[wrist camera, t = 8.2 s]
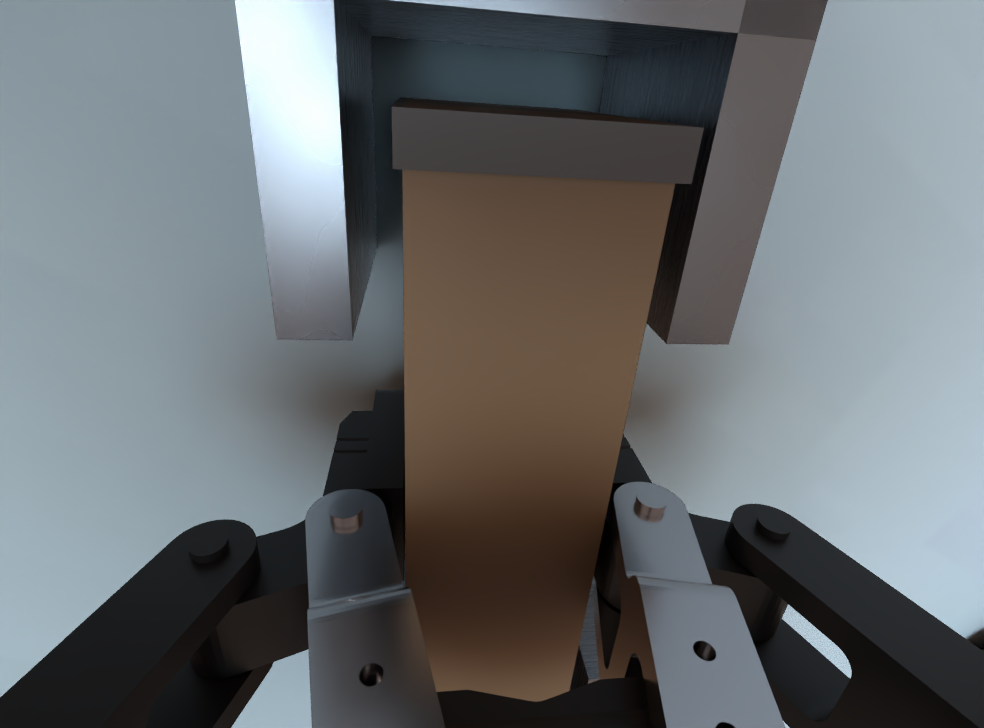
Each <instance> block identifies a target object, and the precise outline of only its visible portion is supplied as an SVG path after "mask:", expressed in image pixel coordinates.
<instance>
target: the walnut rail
mask: <svg viewBox="0 0 984 728" xmlns="http://www.w3.org/2000/svg"><path fill="white" fill-rule="evenodd" d="M703 130H704V128H702V127H695V126H688V125H681V124H674V123H667V122H660V121H652V120H645V119H638V118H631V117H624V116H617V115H610V114H603V113H596V112H588V111H581V110H571V109H557V108H543V107H529V106H514V105H500V104H486V103H471V102H457V101H443V100H429V99H414V98H400V99H399V100H398V101H397V102H396V103H395V104H394V105H393V106H392V163H393V169H402V178H403V292H404V407H405V521H406V587H407V586H408V587H409V588H410V590H411V592H412V595H413V599H414V603H415V607H416V611H417V615H418V619H419V623H420V627H421V631H422V635H423V639H424V643H425V647H426V651H427V655H428V659H429V663H430V667H431V671H432V675H433V679H434V684H435V688H436V692H442V691H455V690H473V691H478V692H484V693H489V694H495V695H500V696H506V697H511V698H516V699H522V700H527V701H534V702H538V701H544V700H547V699H549V698H552V697H555V696H557V695H560V694H563V693H565V692H568V691H569V690H570V685H571V681H572V676H573V671H574V666H575V662H576V657H577V652H578V647H579V642H580V638H581V633H582V628H583V623H584V618H585V614H586V609H587V604H588V599H589V595H590V590H591V585H592V580H593V575H594V571H595V566H596V561H597V556H598V551H599V547H600V542H601V537H602V532H603V528H604V523H605V518H606V513H607V508H608V504H609V499H610V494H611V489H612V484H613V480H614V475H615V470H616V465H617V461H618V456H619V451H620V446H621V441H622V437H623V432H624V427H625V422H626V417H627V413H628V408H629V403H630V398H631V394H632V389H633V384H634V379H635V374H636V370H637V365H638V360H639V355H640V350H641V346H642V341H643V336H644V331H645V327H646V322H647V317H648V312H649V307H650V303H651V298H652V293H653V288H654V283H655V279H656V274H657V269H658V264H659V260H660V255H661V250H662V245H663V240H664V236H665V231H666V226H667V221H668V216H669V212H670V207H671V202H672V197H673V193H674V188H675V183H678V184H692V180H693V175H694V171H695V166H696V162H697V157H698V153H699V148H700V144H701V139H702V135H703Z"/></svg>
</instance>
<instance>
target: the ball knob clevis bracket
mask: <svg viewBox="0 0 984 728" xmlns="http://www.w3.org/2000/svg"><path fill="white" fill-rule="evenodd" d="M827 1H828V0H235V4H236V13H237V21H238V29H239V37H240V45H241V53H242V61H243V69H244V77H245V85H246V93H247V101H248V110H249V118H250V126H251V134H252V142H253V150H254V158H255V166H256V174H257V182H258V190H259V198H260V207H261V215H262V223H263V231H264V239H265V247H266V255H267V263H268V271H269V279H270V287H271V295H272V304H273V312H274V320H275V328H276V336H277V340H353V336H354V332H355V328H356V325H357V321H358V317H359V314H360V310H361V306H362V302H363V299H364V295H365V291H366V288H367V284H368V280H369V276H370V273H371V269H372V265H373V261H374V258H375V254H376V250H377V214H376V181H375V147H374V114H373V81H372V47H371V36H381V37H393V38H405V39H416V40H428V41H440V42H452V43H463V44H475V45H487V46H498V47H510V48H522V49H534V50H545V51H557V52H569V53H581V54H592V55H604V56H607V61H606V68H605V75H604V83H603V90H602V97H601V104H600V111H599V113H603V114H610V115H617V116H624V117H631V118H638V119H645V120H652V121H660V122H667V123H674V124H681V125H688V126H695V127H702V128H704V130H703V135H702V139H701V144H700V148H699V153H698V157H697V162H696V166H695V171H694V175H693V180H692V184H678V183H675V188H674V193H673V197H672V202H671V207H670V212H669V216H668V221H667V226H666V231H665V236H664V240H663V245H662V250H661V255H660V260H659V264H658V269H657V274H656V279H655V283H654V288H653V293H652V298H651V303H650V307H649V312H648V317H647V322H646V323H647V324H648V325H649V326H650V327H651V328H652V329H653V330H654V331H655V332H656V333H657V334H658V335H659V337H660V338H661V339H662V340H663V341H664V342H665V343H666V344H729V341H730V338H731V334H732V331H733V327H734V324H735V320H736V317H737V313H738V310H739V306H740V303H741V299H742V296H743V293H744V289H745V286H746V282H747V279H748V275H749V272H750V268H751V265H752V261H753V258H754V254H755V251H756V247H757V244H758V240H759V237H760V233H761V230H762V227H763V223H764V220H765V216H766V213H767V209H768V206H769V202H770V199H771V195H772V192H773V188H774V185H775V181H776V178H777V174H778V171H779V167H780V164H781V161H782V157H783V154H784V150H785V147H786V143H787V140H788V136H789V133H790V129H791V126H792V122H793V119H794V115H795V112H796V108H797V105H798V101H799V98H800V94H801V91H802V88H803V84H804V81H805V77H806V74H807V70H808V67H809V63H810V60H811V56H812V53H813V49H814V46H815V42H816V39H817V35H818V32H819V28H820V25H821V22H822V18H823V15H824V11H825V8H826V4H827ZM595 582H596V581H595V578H594V575H593V580H592V585H591V590H590V595H589V599H588V604H587V609H586V614H585V618H584V623H583V628H582V633H581V638H580V642H579V647H578V652H577V657H576V662H575V666H574V671H573V676H572V681H571V685H570V690H569V691H571V690H573V689H576V688H578V687H581V686H584V685H586V684H589V683H592V682H594V681H597V680H600V679H599V668H598V657H597V646H596V634H595V623H594V612H593V601H592V597H593V592H594V587H595Z"/></svg>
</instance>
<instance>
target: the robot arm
mask: <svg viewBox="0 0 984 728" xmlns="http://www.w3.org/2000/svg"><path fill="white" fill-rule="evenodd" d="M405 530H406V521H405V407H404V390H376V393H375V400H374V407H373V411H352V412H351V413H350V414H349V415H348V416H347V417H346V418H345V419H344V420H343V421H342V422H341V423H340V426H339V431H338V435H337V441H336V443H335V448H334V453H333V456H332V460H331V464H330V469H329V473H328V477H327V481H326V486H325V490H324V494H323V497H322V498H320V499H318V500H317V501H316V502H315V503H314V504H313V505H312V506H311V507H310V508H309V510H308V512H307V514H306V518H305V520H304V521H302V522H300V523H298V524H297V525H294V526H292V527H290V528H287V529H284V530H280V531H277V532H273V533H269V534H265V535H262V536H258V537H256V535H255V533H254V531H253V529H252V528H251V527H250V526H248V525H247V524H245V523H242V522H240V521H235V520H215V521H209V522H206V523H202V524H199V525H197V526H194V527H192V528H190V529H188V530H186V531H185V532H183V533H182V534H180V535H179V536H178V537H176V538H175V539H174V540H173V541H172V542H170V543H169V544H168V545H167V546H166V547H165V548H164V549H163V550H162V551H161V552H159V553H158V554H157V555H156V556H155V557H154V558H153V559H152V560H151V561H150V562H149V563H147V564H146V565H145V566H144V567H143V568H142V569H141V570H140V571H139V572H138V573H136V574H135V575H134V576H133V577H132V578H131V579H130V580H129V581H128V582H127V583H125V584H124V585H123V586H122V587H121V588H120V589H119V590H118V591H117V592H116V593H114V594H113V595H112V596H111V597H110V598H109V599H108V600H107V601H106V602H105V603H104V604H102V605H101V606H100V607H99V608H98V609H97V610H96V611H95V612H94V613H93V614H91V615H90V616H89V617H88V618H87V619H86V620H85V621H84V622H83V623H82V624H80V625H79V626H78V627H77V628H76V629H75V630H74V631H73V632H72V633H71V634H69V635H68V636H67V637H66V638H65V639H64V640H63V641H62V642H61V643H60V644H59V645H57V646H56V647H55V648H54V649H53V650H52V651H51V652H50V653H49V654H48V655H46V656H45V657H44V658H43V659H42V660H41V661H40V662H39V663H38V664H37V665H35V666H34V667H33V668H32V669H31V670H30V671H29V672H28V673H27V674H26V675H25V676H23V677H22V678H21V679H20V680H19V681H18V682H17V683H16V684H15V685H14V686H12V687H11V688H10V689H9V690H8V691H7V692H6V693H5V694H4V695H3V696H1V697H0V728H231V727H232V725H233V724H234V722H235V721H236V719H237V718H238V716H239V715H240V713H241V712H242V710H243V709H244V707H245V706H246V704H247V703H248V702H249V700H250V699H251V697H252V696H253V694H254V693H255V691H256V690H257V688H258V687H259V685H260V684H261V682H262V681H263V679H264V678H265V676H266V675H267V673H268V672H269V670H270V668H271V667H272V664H273V662H274V661H277V660H280V659H283V658H285V657H288V656H291V655H294V654H296V653H299V652H302V651H305V650H307V649H309V670H310V693H311V717H312V728H785V725H784V722H785V723H786V724H787V725H788V726H789V727H790V728H984V652H983V651H982V650H981V649H979V648H978V647H976V646H975V645H974V644H972V643H971V642H969V641H968V640H966V639H965V638H964V637H962V636H961V635H959V634H958V633H957V632H955V631H954V630H952V629H951V628H949V627H948V626H947V625H945V624H944V623H942V622H941V621H940V620H938V619H937V618H935V617H934V616H933V615H931V614H930V613H928V612H927V611H925V610H924V609H923V608H921V607H920V606H918V605H917V604H916V603H914V602H913V601H911V600H910V599H908V598H907V597H906V596H904V595H903V594H901V593H900V592H899V591H897V590H896V589H894V588H893V587H892V586H890V585H889V584H887V583H886V582H884V581H883V580H882V579H880V578H879V577H877V576H876V575H875V574H873V573H872V572H870V571H869V570H867V569H866V568H865V567H863V566H862V565H860V564H859V563H858V562H856V561H855V560H853V559H852V558H851V557H849V556H848V555H846V554H845V553H843V552H842V551H841V550H839V549H838V548H836V547H835V546H834V545H832V544H831V543H829V542H828V541H826V540H825V539H824V538H822V537H821V536H819V535H818V534H817V533H815V532H814V531H812V530H811V529H809V528H808V527H807V526H805V525H804V524H802V523H801V522H800V521H798V520H797V519H795V518H794V517H792V516H791V515H789V514H787V513H785V512H783V511H781V510H779V509H776V508H773V507H770V506H766V505H761V504H746V505H742V506H740V507H738V508H737V509H736V510H735V511H734V513H733V515H732V518H731V520H730V522H727V521H722V520H717V519H712V518H707V517H702V516H698V515H694V514H691V513H688V511H687V509H686V506H685V504H684V503H683V502H682V500H681V499H680V498H679V497H678V496H677V495H675V494H674V493H673V492H671V491H670V490H668V489H666V488H664V487H662V486H659V485H656V484H652V482H651V480H650V478H649V477H648V475H647V473H646V472H645V470H644V468H643V467H642V465H641V463H640V461H639V460H638V458H637V456H636V455H635V453H634V451H633V449H630V444H629V443H628V441H627V439H626V438H625V437H624V434H623V437H622V441H621V446H620V451H619V456H618V461H617V465H616V470H615V475H614V480H613V484H612V489H611V494H610V499H609V504H608V508H607V513H606V518H605V523H604V528H603V532H602V537H601V542H600V547H599V551H598V556H597V561H596V566H595V571H594V578H595V581H596V582H595V587H594V592H593V597H592V601H593V612H594V623H595V634H596V646H597V657H598V668H599V679H600V680H597V681H594V682H592V683H589V684H586V685H584V686H581V687H578V688H576V689H573V690H571V691H568V692H565V693H563V694H560V695H557V696H555V697H552V698H549V699H547V700H544V701H538V702H534V701H527V700H522V699H516V698H511V697H506V696H500V695H495V694H489V693H484V692H478V691H473V690H455V691H442V692H436V688H435V684H434V679H433V675H432V671H431V667H430V663H429V659H428V655H427V651H426V647H425V643H424V639H423V635H422V631H421V627H420V623H419V619H418V615H417V611H416V607H415V603H414V599H413V595H412V592H411V590H410V588H409V587H408V586H407V587H404V584H403V581H404V560H405ZM788 604H789V605H790V606H791V607H792V608H794V609H795V610H796V611H797V612H798V613H800V614H801V615H802V616H803V617H804V618H805V619H807V620H808V621H809V622H810V623H811V624H812V625H814V626H815V627H816V628H817V629H818V630H820V631H821V632H822V633H823V634H824V635H825V636H827V637H828V638H829V639H830V640H831V641H832V642H834V643H835V644H836V645H837V646H838V647H839V648H840V649H841V650H842V651H843V653H844V654H845V655H846V657H847V659H848V660H849V663H850V665H851V669H852V676H851V679H850V678H848V677H847V676H846V675H845V674H844V673H843V672H841V671H840V670H839V669H838V668H837V667H836V666H835V665H834V664H832V663H831V662H830V661H829V660H828V659H827V658H826V657H824V656H823V655H822V654H821V653H820V652H819V651H818V650H817V649H815V648H814V647H813V646H812V645H811V644H810V643H809V642H807V641H806V640H805V639H804V638H803V637H802V636H801V635H800V634H798V633H797V632H796V631H795V630H794V629H793V628H792V627H791V626H789V625H788V624H787V623H786V622H785V621H784V620H783V619H782V617H783V614H784V612H785V610H786V608H787V605H788ZM783 721H784V722H783Z"/></svg>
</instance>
